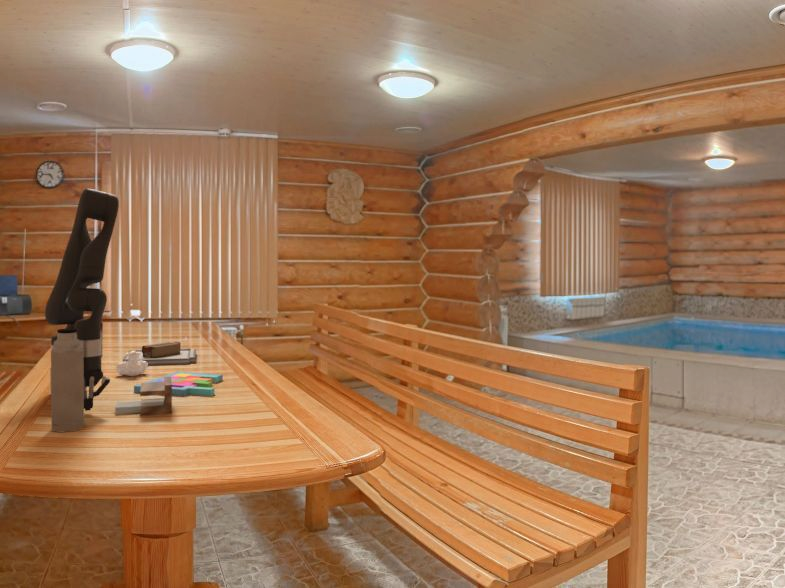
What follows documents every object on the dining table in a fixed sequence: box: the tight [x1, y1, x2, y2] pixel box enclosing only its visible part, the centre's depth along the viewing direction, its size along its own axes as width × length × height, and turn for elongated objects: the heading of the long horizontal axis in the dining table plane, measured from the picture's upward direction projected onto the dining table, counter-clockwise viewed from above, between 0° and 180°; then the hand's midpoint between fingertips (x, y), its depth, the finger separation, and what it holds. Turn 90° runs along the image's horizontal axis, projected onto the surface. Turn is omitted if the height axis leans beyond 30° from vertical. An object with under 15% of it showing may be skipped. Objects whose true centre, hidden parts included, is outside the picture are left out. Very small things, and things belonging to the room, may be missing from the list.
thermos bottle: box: [50, 328, 85, 432], centre depth 168 cm, size 8×8×28 cm
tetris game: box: [133, 371, 224, 397], centre depth 225 cm, size 28×3×28 cm
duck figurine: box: [115, 351, 149, 377], centre depth 242 cm, size 12×8×11 cm
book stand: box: [122, 341, 197, 366], centre depth 280 cm, size 30×30×8 cm
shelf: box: [139, 377, 173, 416], centre depth 191 cm, size 9×13×9 cm
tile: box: [114, 400, 165, 415], centre depth 191 cm, size 14×7×2 cm, turn 111°
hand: (87, 409), depth 185 cm, fingers closed
